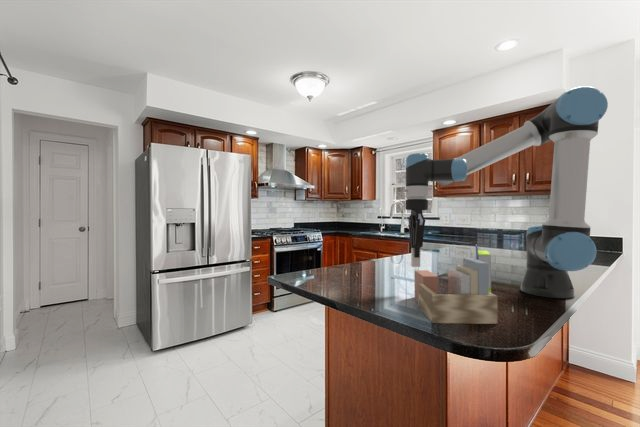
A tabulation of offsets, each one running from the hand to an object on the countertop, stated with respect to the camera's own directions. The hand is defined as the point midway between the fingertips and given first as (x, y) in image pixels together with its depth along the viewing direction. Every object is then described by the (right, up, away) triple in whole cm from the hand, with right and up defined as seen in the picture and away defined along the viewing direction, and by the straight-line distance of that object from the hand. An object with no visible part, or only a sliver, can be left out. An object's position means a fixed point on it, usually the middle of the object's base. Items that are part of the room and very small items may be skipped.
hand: (415, 266), depth 110 cm
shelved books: (+8, -9, -25) cm, 27 cm away
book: (0, -9, -11) cm, 14 cm away
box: (+19, -10, -8) cm, 23 cm away
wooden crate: (+3, -9, -24) cm, 26 cm away
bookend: (+4, -9, -25) cm, 27 cm away
